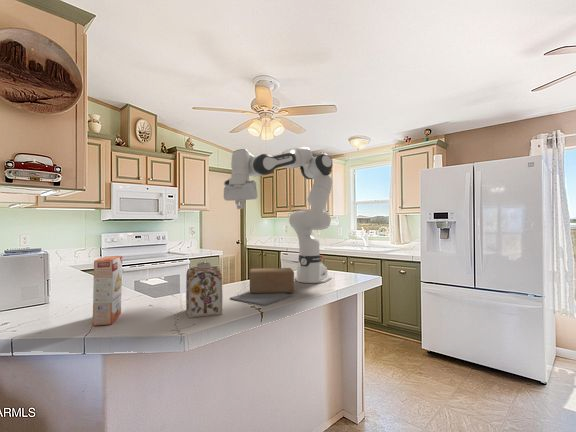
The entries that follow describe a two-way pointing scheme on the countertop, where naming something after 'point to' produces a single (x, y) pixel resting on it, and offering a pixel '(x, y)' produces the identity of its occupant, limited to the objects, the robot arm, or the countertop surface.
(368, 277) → the countertop surface
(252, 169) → the robot arm
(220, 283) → the decorative jar
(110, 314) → the cracker box
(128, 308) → the countertop surface
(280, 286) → the wooden block
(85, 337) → the countertop surface
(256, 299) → the charcoal rubber mat
